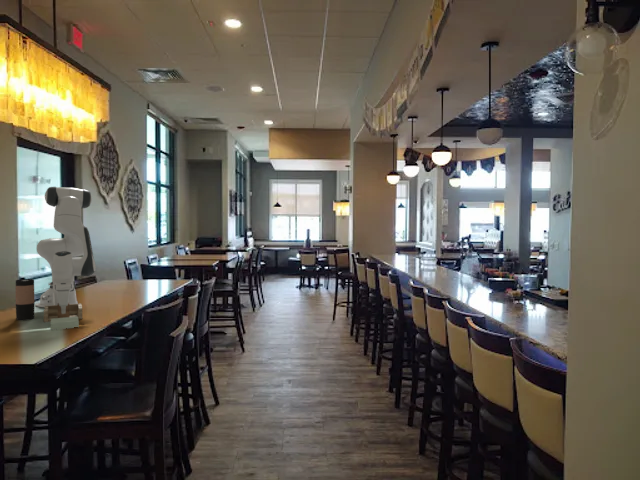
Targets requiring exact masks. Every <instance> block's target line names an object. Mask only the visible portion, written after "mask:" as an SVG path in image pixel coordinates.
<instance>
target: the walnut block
mask: <svg viewBox="0 0 640 480" xmlns="http://www.w3.org/2000/svg"><path fill="white" fill-rule="evenodd" d="M66 317H69V302H68V305H67V306H66V313H65V314H62V313H61V306H59V303H58V318H66Z"/></svg>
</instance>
